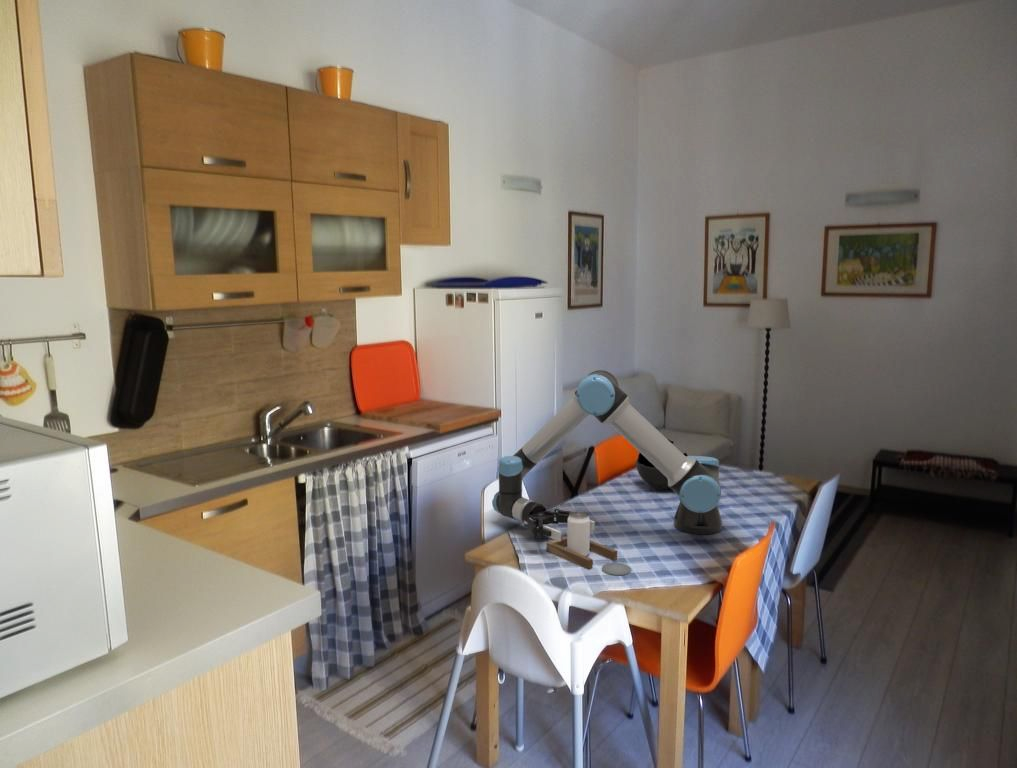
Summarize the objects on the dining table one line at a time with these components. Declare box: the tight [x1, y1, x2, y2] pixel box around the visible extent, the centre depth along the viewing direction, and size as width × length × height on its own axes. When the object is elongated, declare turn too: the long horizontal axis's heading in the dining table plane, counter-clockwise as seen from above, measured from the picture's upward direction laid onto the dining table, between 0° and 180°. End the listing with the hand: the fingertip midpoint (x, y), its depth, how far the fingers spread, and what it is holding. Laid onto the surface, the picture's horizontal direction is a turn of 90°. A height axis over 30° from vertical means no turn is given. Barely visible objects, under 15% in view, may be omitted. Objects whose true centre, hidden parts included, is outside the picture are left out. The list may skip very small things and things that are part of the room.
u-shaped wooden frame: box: [545, 535, 618, 570], centre depth 211 cm, size 12×18×2 cm, turn 39°
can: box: [566, 510, 591, 557], centre depth 211 cm, size 6×6×12 cm
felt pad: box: [601, 562, 632, 577], centre depth 201 cm, size 8×8×1 cm
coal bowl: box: [635, 438, 688, 490], centre depth 276 cm, size 20×20×19 cm
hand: (577, 531), depth 211 cm, fingers open, 13 cm apart
